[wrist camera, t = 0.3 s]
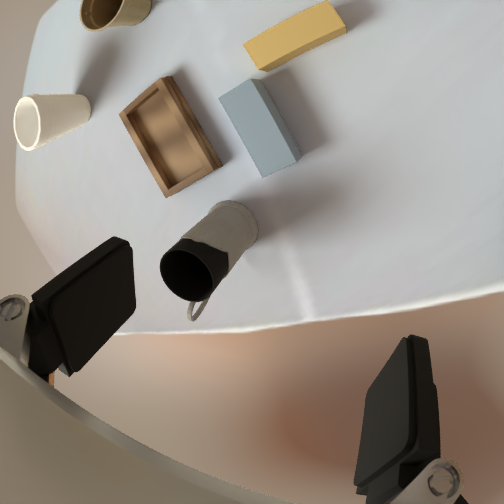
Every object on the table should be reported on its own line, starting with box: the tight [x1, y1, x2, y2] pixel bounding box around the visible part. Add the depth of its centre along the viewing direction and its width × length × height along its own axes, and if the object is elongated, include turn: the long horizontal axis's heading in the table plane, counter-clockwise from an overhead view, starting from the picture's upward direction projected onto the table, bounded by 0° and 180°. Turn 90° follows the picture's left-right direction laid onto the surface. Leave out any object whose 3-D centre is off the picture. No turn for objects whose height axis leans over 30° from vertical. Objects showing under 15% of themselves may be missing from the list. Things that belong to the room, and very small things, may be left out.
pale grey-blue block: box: [218, 79, 302, 178], centre depth 39 cm, size 12×5×4 cm, turn 30°
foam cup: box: [14, 94, 91, 151], centre depth 43 cm, size 10×9×13 cm
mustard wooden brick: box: [242, 0, 347, 72], centre depth 32 cm, size 4×12×4 cm, turn 121°
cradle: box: [119, 76, 223, 198], centre depth 45 cm, size 16×10×3 cm, turn 30°
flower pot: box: [80, 0, 151, 32], centre depth 33 cm, size 9×9×9 cm
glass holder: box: [160, 201, 258, 321], centre depth 45 cm, size 9×14×15 cm, turn 172°
